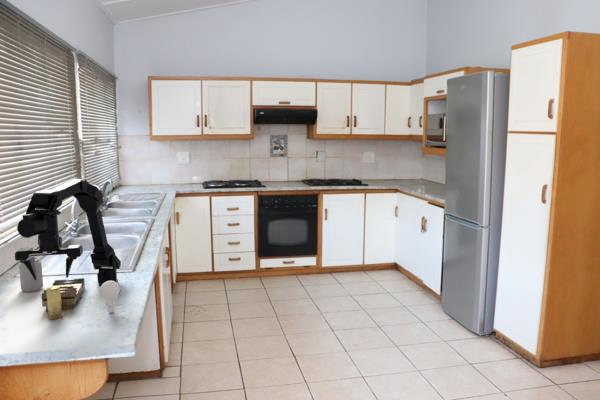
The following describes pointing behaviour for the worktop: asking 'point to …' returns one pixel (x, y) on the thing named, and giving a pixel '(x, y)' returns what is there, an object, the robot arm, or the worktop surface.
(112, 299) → the lightbulb
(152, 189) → the worktop surface
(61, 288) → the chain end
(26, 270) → the can
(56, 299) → the brass pin
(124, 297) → the worktop surface
